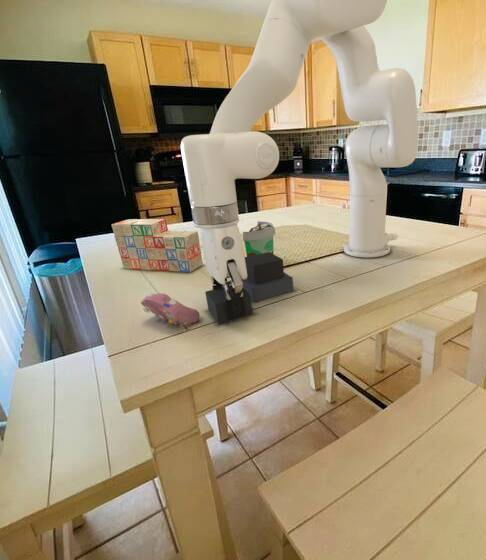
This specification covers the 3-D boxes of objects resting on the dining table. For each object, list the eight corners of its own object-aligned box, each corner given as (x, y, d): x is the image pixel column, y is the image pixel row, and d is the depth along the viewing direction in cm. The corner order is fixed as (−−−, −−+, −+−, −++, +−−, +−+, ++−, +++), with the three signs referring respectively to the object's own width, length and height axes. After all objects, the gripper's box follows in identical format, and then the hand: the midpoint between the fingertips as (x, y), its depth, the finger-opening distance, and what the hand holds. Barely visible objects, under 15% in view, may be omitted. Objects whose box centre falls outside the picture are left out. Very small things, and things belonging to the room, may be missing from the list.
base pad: (274, 278, 78) (273, 266, 77) (293, 290, 71) (292, 277, 70) (238, 287, 74) (236, 274, 73) (254, 301, 67) (252, 288, 66)
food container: (270, 272, 82) (267, 232, 78) (246, 272, 83) (242, 232, 79) (283, 256, 93) (280, 220, 89) (261, 256, 94) (258, 220, 90)
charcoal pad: (270, 268, 75) (269, 251, 74) (284, 277, 70) (282, 259, 68) (243, 275, 72) (241, 257, 71) (255, 284, 67) (253, 266, 66)
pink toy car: (154, 323, 64) (130, 300, 59) (170, 305, 66) (148, 281, 61) (188, 337, 59) (165, 312, 54) (204, 316, 61) (183, 291, 56)
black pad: (240, 301, 67) (237, 283, 66) (252, 314, 62) (250, 294, 60) (208, 310, 64) (205, 291, 63) (218, 324, 59) (215, 304, 58)
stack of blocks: (204, 264, 90) (196, 219, 85) (190, 273, 84) (181, 224, 80) (139, 260, 96) (128, 218, 91) (122, 268, 91) (110, 223, 86)
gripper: (256, 219, 51) (267, 323, 57) (221, 205, 65) (233, 289, 72) (207, 227, 47) (225, 336, 54) (181, 210, 62) (198, 298, 68)
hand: (229, 309), depth 63 cm, fingers closed on black pad, 6 cm apart
